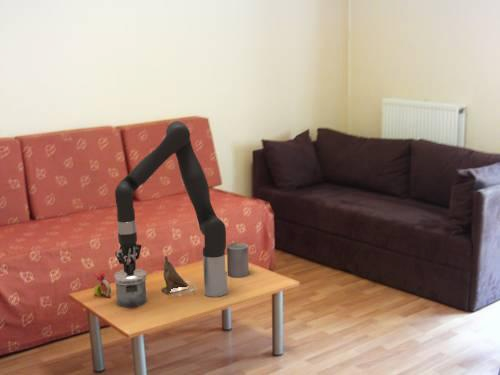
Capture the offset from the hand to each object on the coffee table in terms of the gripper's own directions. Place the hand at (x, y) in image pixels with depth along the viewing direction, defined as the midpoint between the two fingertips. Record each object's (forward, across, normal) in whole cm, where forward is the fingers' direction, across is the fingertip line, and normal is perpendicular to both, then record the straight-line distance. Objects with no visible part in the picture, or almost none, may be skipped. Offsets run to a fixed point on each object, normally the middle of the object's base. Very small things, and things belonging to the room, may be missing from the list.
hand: (130, 271), depth 291 cm
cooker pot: (+13, 0, 0) cm, 13 cm away
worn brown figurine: (+14, -20, +7) cm, 25 cm away
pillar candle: (+14, -50, +20) cm, 55 cm away
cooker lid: (+2, 0, 0) cm, 2 cm away
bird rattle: (+14, 0, -16) cm, 21 cm away
